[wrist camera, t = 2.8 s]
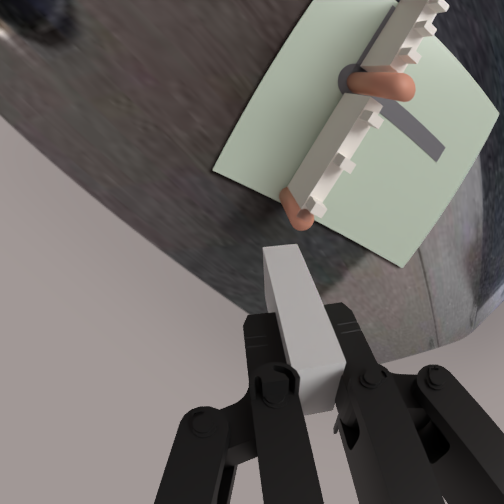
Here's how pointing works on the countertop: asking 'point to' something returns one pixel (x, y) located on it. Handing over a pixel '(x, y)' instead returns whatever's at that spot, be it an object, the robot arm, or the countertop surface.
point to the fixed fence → (396, 51)
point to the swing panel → (329, 158)
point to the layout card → (376, 140)
